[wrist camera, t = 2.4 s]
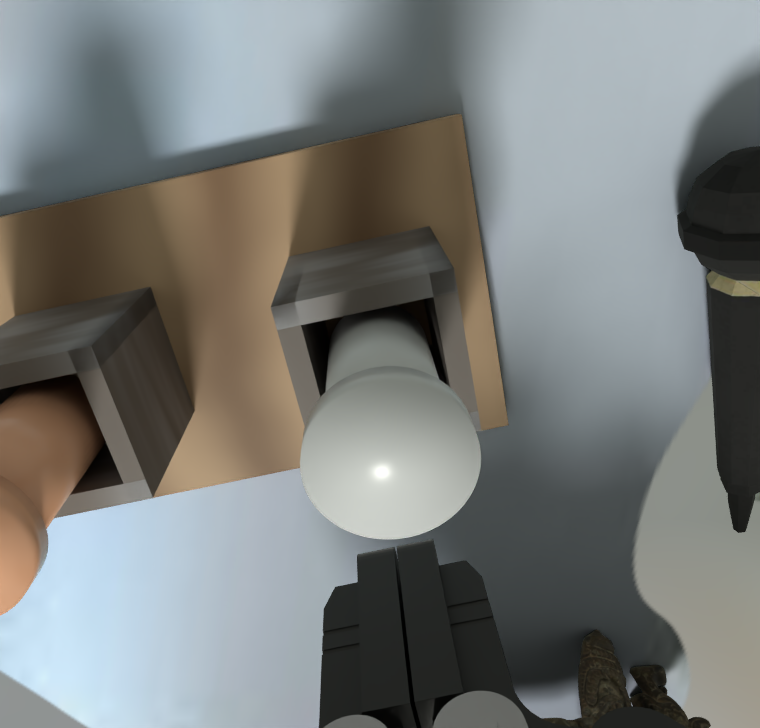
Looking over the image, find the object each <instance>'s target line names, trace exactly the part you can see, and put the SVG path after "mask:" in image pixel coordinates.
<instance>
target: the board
mask: <svg viewBox="0 0 760 728" xmlns="http://www.w3.org/2000/svg"><path fill="white" fill-rule="evenodd" d="M393 305H395V306H398V307H400V308H402V309H404V310H406V311H407V312H409V313H410V314H411V315H412V316H414V317H415V318H416V319H417V321H418V322H419V323H420V325H421V326H422V328H423V330H424V332H425V335H426V338H427V342H428V345H429V348H430V351H431V355H432V358H433V361H434V364H435V368H436V371H437V374H438V377H439V380H441V381H442V382H444V383H445V384H447V385H448V386H449V387H450V388H451V389H452V390H453V391H454V392H455V393H456V394H457V395H458V396H459V398H460V399H461V400H462V402H463V403H464V405H465V407H466V408H467V410H468V413H469V415H470V417H471V420H472V423H473V425H474V428H475V431H476V432H479V431H482V430H487V429H492V428H497V427H502V426H507V425H508V418H507V411H506V405H505V398H504V391H503V385H502V378H501V372H500V365H499V358H498V352H497V345H496V338H495V332H494V325H493V319H492V312H491V305H490V299H489V292H488V286H487V279H486V272H485V266H484V259H483V252H482V246H481V239H480V233H479V226H478V219H477V213H476V206H475V199H474V193H473V186H472V180H471V173H470V166H469V160H468V153H467V147H466V140H465V133H464V127H463V120H462V115H461V114H455V115H450V116H446V117H441V118H437V119H432V120H428V121H423V122H419V123H414V124H410V125H405V126H401V127H396V128H392V129H388V130H383V131H379V132H374V133H370V134H365V135H361V136H356V137H352V138H347V139H343V140H338V141H334V142H329V143H325V144H321V145H316V146H312V147H307V148H303V149H298V150H294V151H289V152H285V153H280V154H276V155H271V156H267V157H262V158H258V159H254V160H249V161H245V162H240V163H236V164H231V165H227V166H222V167H218V168H213V169H209V170H204V171H200V172H196V173H191V174H187V175H182V176H178V177H173V178H169V179H164V180H160V181H155V182H151V183H146V184H142V185H137V186H133V187H129V188H124V189H120V190H115V191H111V192H106V193H102V194H97V195H93V196H88V197H84V198H79V199H75V200H70V201H66V202H62V203H57V204H53V205H48V206H44V207H39V208H35V209H30V210H26V211H21V212H17V213H12V214H8V215H3V216H0V404H1V403H2V402H4V401H5V400H6V399H7V398H8V397H9V396H10V395H11V394H12V393H14V392H15V391H16V390H17V389H18V388H19V387H20V386H21V385H22V384H27V383H32V382H36V381H41V380H46V379H50V378H55V377H60V376H65V375H69V374H70V375H74V376H77V377H79V379H80V382H81V384H82V386H83V389H84V391H85V393H86V396H87V398H88V401H89V403H90V405H91V408H92V410H93V412H94V415H95V417H96V419H97V422H98V424H99V427H100V429H101V431H102V434H103V436H104V438H105V441H106V443H105V445H104V446H103V447H102V449H101V450H100V452H99V453H98V455H97V456H96V458H95V459H94V460H93V462H92V463H91V465H90V466H89V468H88V469H87V471H86V472H85V474H84V475H83V476H82V478H81V479H80V481H79V482H78V484H77V485H76V487H75V488H74V490H73V491H72V492H71V494H70V495H69V497H68V498H67V500H66V501H65V503H64V504H63V506H62V507H61V508H60V510H59V511H58V513H57V514H56V516H55V517H54V518H57V517H62V516H67V515H72V514H77V513H82V512H87V511H92V510H97V509H101V508H106V507H111V506H116V505H121V504H126V503H131V502H136V501H141V500H146V499H150V498H154V497H159V496H164V495H169V494H174V493H179V492H184V491H188V490H193V489H198V488H203V487H208V486H213V485H218V484H223V483H228V482H233V481H237V480H242V479H247V478H252V477H257V476H262V475H267V474H272V473H277V472H282V471H286V470H291V469H296V468H300V456H301V447H302V440H303V432H304V428H305V424H306V421H307V419H308V416H309V414H310V412H311V410H312V409H313V407H314V405H315V404H316V402H317V401H318V400H319V398H320V397H321V396H322V395H323V394H324V393H325V392H326V379H327V367H328V354H329V343H330V339H331V335H332V333H333V330H334V329H335V327H336V325H337V324H338V323H339V321H340V320H341V319H342V318H343V317H344V316H346V315H351V314H356V313H360V312H365V311H370V310H374V309H379V308H384V307H389V306H393Z"/></svg>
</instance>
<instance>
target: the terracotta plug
mask: <svg viewBox="0 0 760 728" xmlns="http://www.w3.org/2000/svg"><path fill="white" fill-rule="evenodd" d="M105 443H106V441H105V438H104V436H103V434H102V431H101V429H100V427H99V424H98V422H97V419H96V417H95V415H94V412H93V410H92V408H91V405H90V403H89V401H88V398H87V396H86V393H85V391H84V389H83V386H82V384H81V382H80V379H79V377H77V376H74V375H70V374H69V375H65V376H60V377H55V378H50V379H46V380H41V381H36V382H32V383H27V384H22V385H21V386H20V387H19V388H18V389H17V390H16V391H15V392H14V393H12V394H11V395H10V396H9V397H8V398H7V399H6V400H5V401H4V402H2V403H1V404H0V615H2V614H4V613H6V612H8V611H9V610H10V609H12V608H13V607H14V606H15V605H16V604H17V603H18V602H19V601H20V600H21V599H22V597H23V596H24V595H25V593H26V592H27V590H28V588H29V587H30V585H31V584H32V582H33V581H34V579H35V578H36V576H37V574H38V573H39V571H40V570H41V568H42V566H43V564H44V562H45V559H46V556H47V552H48V534H47V530H46V529H47V527H48V526H49V524H50V523H51V522H52V520H53V519H54V517H55V516H56V514H57V513H58V511H59V510H60V508H61V507H62V506H63V504H64V503H65V501H66V500H67V498H68V497H69V495H70V494H71V492H72V491H73V490H74V488H75V487H76V485H77V484H78V482H79V481H80V479H81V478H82V476H83V475H84V474H85V472H86V471H87V469H88V468H89V466H90V465H91V463H92V462H93V460H94V459H95V458H96V456H97V455H98V453H99V452H100V450H101V449H102V447H103V446H104V445H105Z"/></svg>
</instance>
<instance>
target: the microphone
mask: <svg viewBox="0 0 760 728" xmlns="http://www.w3.org/2000/svg"><path fill="white" fill-rule="evenodd" d="M677 219H678V233H679V236H680V238H681V241H682V244H683V247H684V249H685V250H688V251H691V252H694V253H695V254H696V256H697V258H698V260H699V261H700V263H701V265H703V266H705V267H707V268H709V269H710V270H712V271H711V272H710V273H709V274H708V275H707V276H706V283H707V300H708V317H709V334H710V351H711V369H712V386H713V402H714V419H715V437H716V455H717V468H718V472H719V475H720V477H721V481H722V483H723V485H724V488H725V490H726V492H727V493H728V503H729V508H730V514H731V519H732V524H733V529H734V530H736V531H737V532H738V533H739V532H745V531H746V528H747V524H748V521H749V517H750V514H751V510H752V507H753V503H754V500H755V494H757V493H759V492H760V146H758V147H749V148H745V149H741V150H737V151H733V152H730V153H729V154H727V155H726V156H724V157H723V158H721V159H720V160H719V161H717V162H716V163H715V164H713V165H712V166H711V167H710V168H708V169H707V170H706V171H704V172H703V173H702V174H700V175H699V176H698V177H697V178H696V181H695V183H694V185H693V187H692V190H691V192H690V194H689V198H688V203H687V207H686V209H685V210H684V211H682V212H681V213H680V214H678V215H677Z"/></svg>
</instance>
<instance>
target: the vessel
mask: <svg viewBox="0 0 760 728" xmlns="http://www.w3.org/2000/svg"><path fill="white" fill-rule="evenodd" d="M630 674H631V675H632V676H633V678H634V679H635V681H636V682H637V684H638V686H639V687H640V689H641V691H642V693H638V694H636V695H634V696H633V697H631V698H629V696H628V693H627V690H626V688H625V687H626V678H625V677H624V675H623V671H622V668H621V666H620V663H619V661H618V659H617V657H616V656H615V655H614V647H613V645H612V642H611V641H610V640H609V639H608V638H606V637H605V636H603V635H602V634H601V632H600V631H599V630H594V631H593V632H592V633H591V634H589V635H587V636H586V637H585V638H584V640H583V642H582V647H581V657H580V664H579V672H578V690H579V698H580V706H581V715H582V718H578V719H575V720H566V719H562V718H544V720H546V721H548V722H551V723H554V724H558V725H563V726H571V727H579V728H592V727H593V725H594V724H595V722H596V721H597V720H598V719H599V718H600V717H601V716H603V715H604V714H606V713H607V712H610V711H612V710H614V709H618V708H622V707H632V706H631V703H632V705H633V707H643V708H648V709H652V710H654V711H657V712H660V713H662V714H664V715H666V716H668V717H669V718H671V719H673V720H675V721H676V722H678V723H680V724H681V725H683V726H685V727H687V728H709V727H710V726H711V725H710V723H709V721H707V720H706V719H704V718H701V717H693V718H691V719H689V720H688V718H687V716H686V714H685V712H684V711H683V710H682V709H681V707H680V706H679V705H678V704H677V703H676V702H675V701H674V700H673V699H672V698H671V697H669V696H667V689H666V688H665V687H663V686H664V685H665V684H666V674H665V671H664V669H663V667H661V666H659V665H651V666H639V667H633V668H631V669H630ZM659 685H660V686H662V687H659V688H658V686H659Z"/></svg>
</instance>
